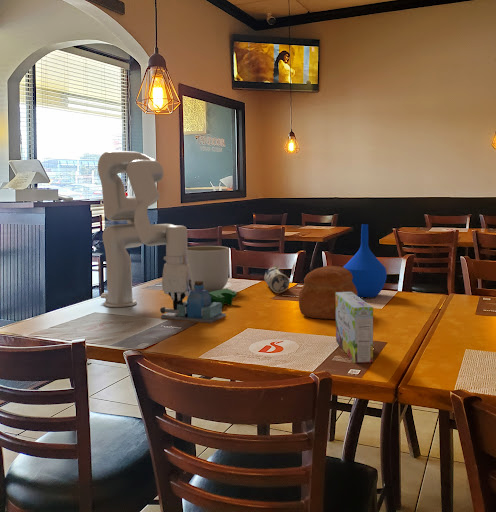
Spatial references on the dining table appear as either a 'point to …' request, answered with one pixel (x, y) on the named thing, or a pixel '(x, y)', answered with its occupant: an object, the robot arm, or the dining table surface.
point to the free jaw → (180, 309)
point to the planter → (209, 266)
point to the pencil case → (276, 279)
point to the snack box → (354, 327)
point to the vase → (366, 269)
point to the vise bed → (198, 319)
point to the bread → (324, 291)
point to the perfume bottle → (197, 300)
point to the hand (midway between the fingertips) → (178, 310)
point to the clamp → (223, 296)
